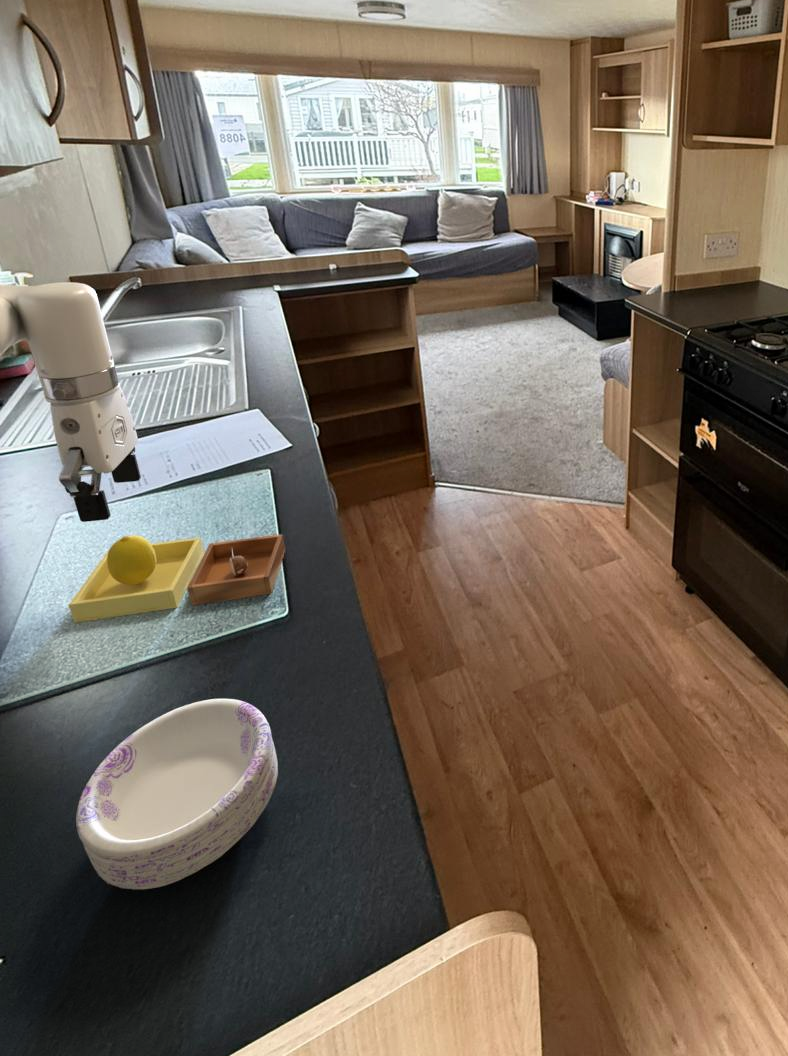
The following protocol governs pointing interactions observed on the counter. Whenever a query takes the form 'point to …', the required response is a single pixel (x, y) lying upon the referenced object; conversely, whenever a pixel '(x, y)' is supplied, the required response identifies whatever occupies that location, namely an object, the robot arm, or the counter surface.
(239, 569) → the chocolate
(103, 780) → the paper bowls
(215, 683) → the counter surface
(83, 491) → the robot arm
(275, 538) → the brown bin
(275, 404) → the counter surface
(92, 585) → the yellow bin
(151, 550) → the lemon
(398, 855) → the counter surface
